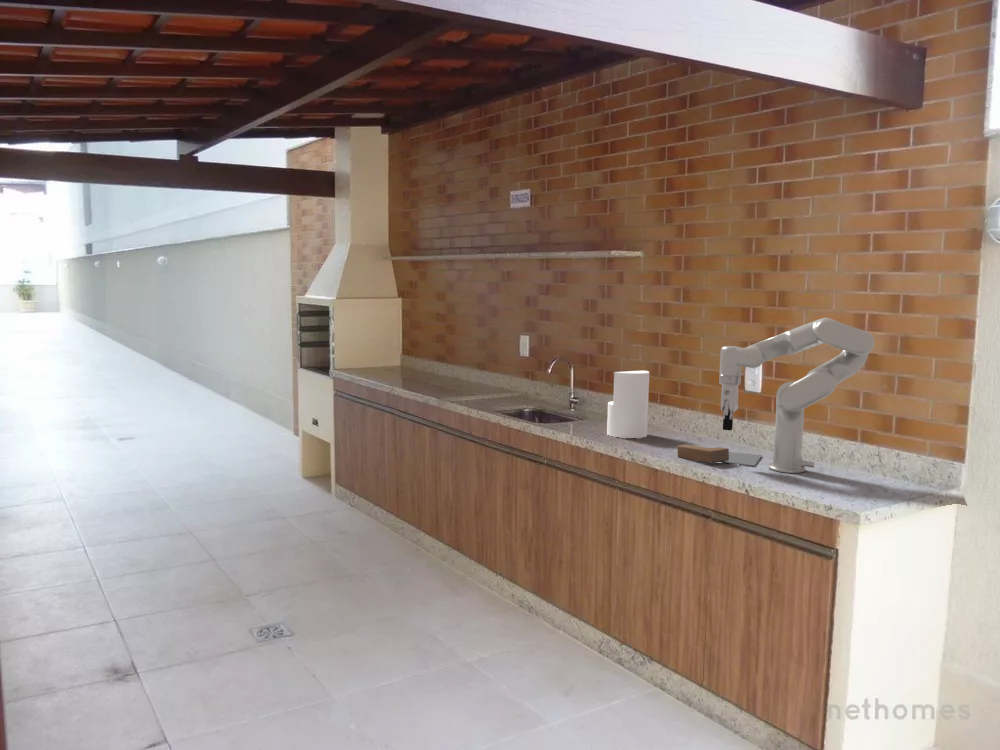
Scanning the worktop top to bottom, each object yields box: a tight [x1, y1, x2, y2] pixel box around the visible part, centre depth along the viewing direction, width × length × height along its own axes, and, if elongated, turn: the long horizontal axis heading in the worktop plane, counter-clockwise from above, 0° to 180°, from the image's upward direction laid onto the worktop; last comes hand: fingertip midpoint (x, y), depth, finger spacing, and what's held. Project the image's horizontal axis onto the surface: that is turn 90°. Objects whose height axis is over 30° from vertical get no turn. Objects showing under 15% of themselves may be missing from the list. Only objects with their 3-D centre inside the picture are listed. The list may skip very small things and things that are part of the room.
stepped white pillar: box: [606, 370, 650, 439], centre depth 356 cm, size 17×17×28 cm
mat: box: [721, 451, 763, 468], centre depth 312 cm, size 20×20×1 cm
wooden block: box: [677, 444, 730, 464], centre depth 308 cm, size 9×4×18 cm
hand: (727, 429), depth 300 cm, fingers closed
